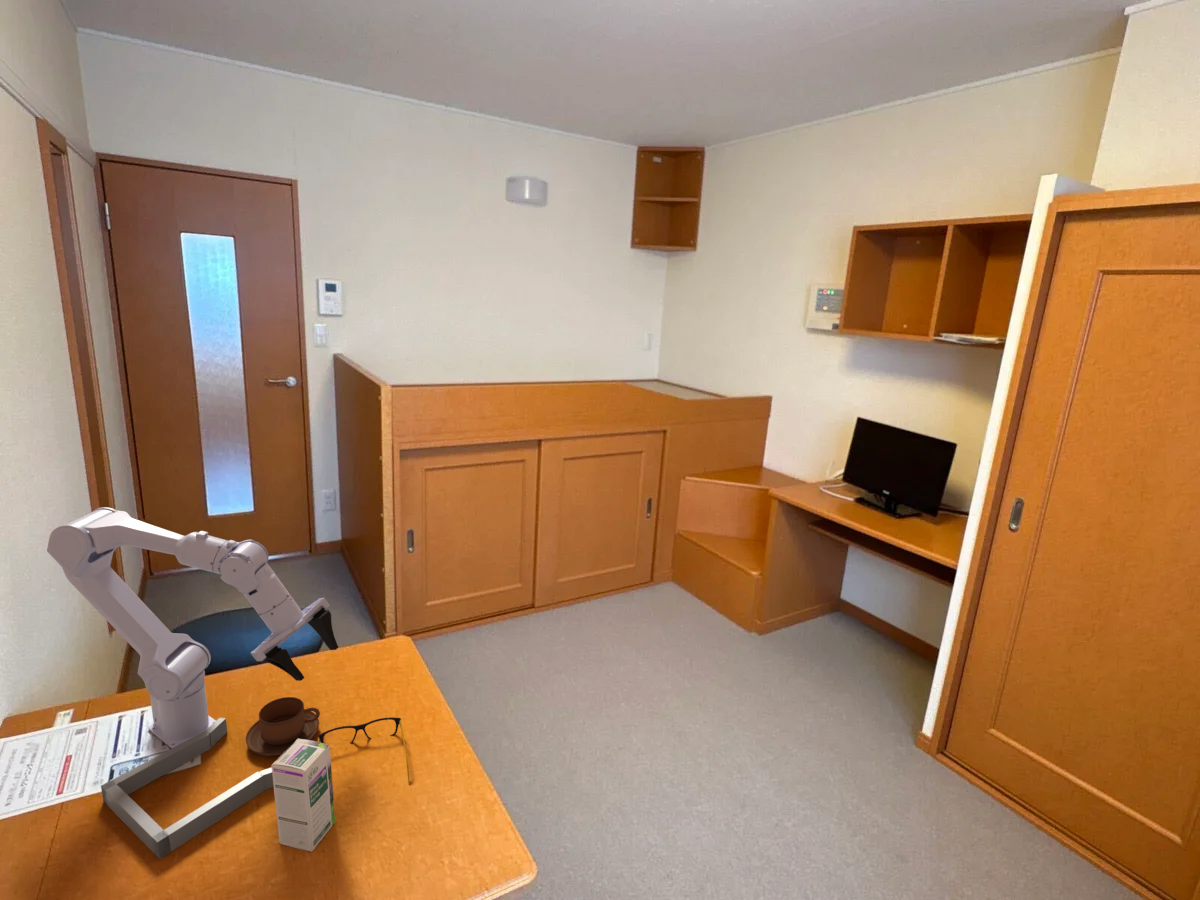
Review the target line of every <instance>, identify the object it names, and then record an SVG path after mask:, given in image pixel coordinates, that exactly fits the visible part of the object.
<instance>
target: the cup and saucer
mask: <svg viewBox="0 0 1200 900" xmlns="http://www.w3.org/2000/svg"><path fill="white" fill-rule="evenodd" d="M303 701H304V700H303ZM303 701H302V699H300V698H298V697H293V696H286V697H281V698H277V699H274V700H272V701H270V702H268V703H266V704H265V705H264V706H263V707H262V708H261V709H260V710H259V712H258V720H257V721H256V722H255V723H254V724H252V725H251V727H250V728H249V729H248V731H247V733H246V734H245V736H246V737H245V744H246V747H248V749H249V750H250V751H251V752H253V753H254V754H257V755H260V756H267V757H268V756H270V757H272V756H281V755H282V754H283V753H284V752H285V751H286V750H287V749H288V748H289V747H290V746H292V745H293V744H294V742H295V741H296V740H297V739H298V738H299V739H305V740H311V741H312V739H313V738H314V736H315V735H316V734H317V732H318V729H319V726H320V720H319V717H320V715H321V713H320V710H319V709H318V708H317V707H307V708H305V704H304V702H303Z"/></svg>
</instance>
